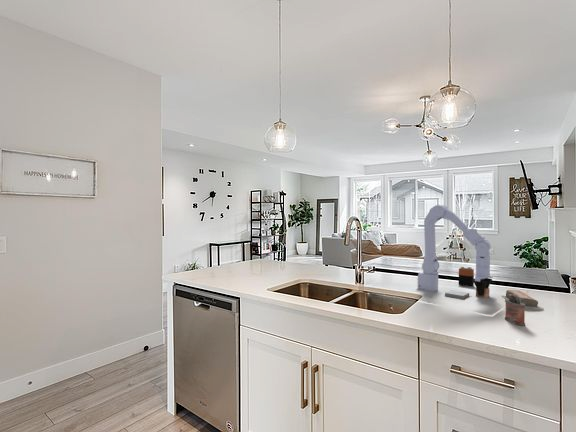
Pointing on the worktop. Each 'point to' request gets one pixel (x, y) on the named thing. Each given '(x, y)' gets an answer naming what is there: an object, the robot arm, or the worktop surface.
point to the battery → (466, 276)
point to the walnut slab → (462, 299)
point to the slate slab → (457, 294)
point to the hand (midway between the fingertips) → (482, 294)
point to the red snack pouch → (515, 310)
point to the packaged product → (524, 300)
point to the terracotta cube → (486, 293)
